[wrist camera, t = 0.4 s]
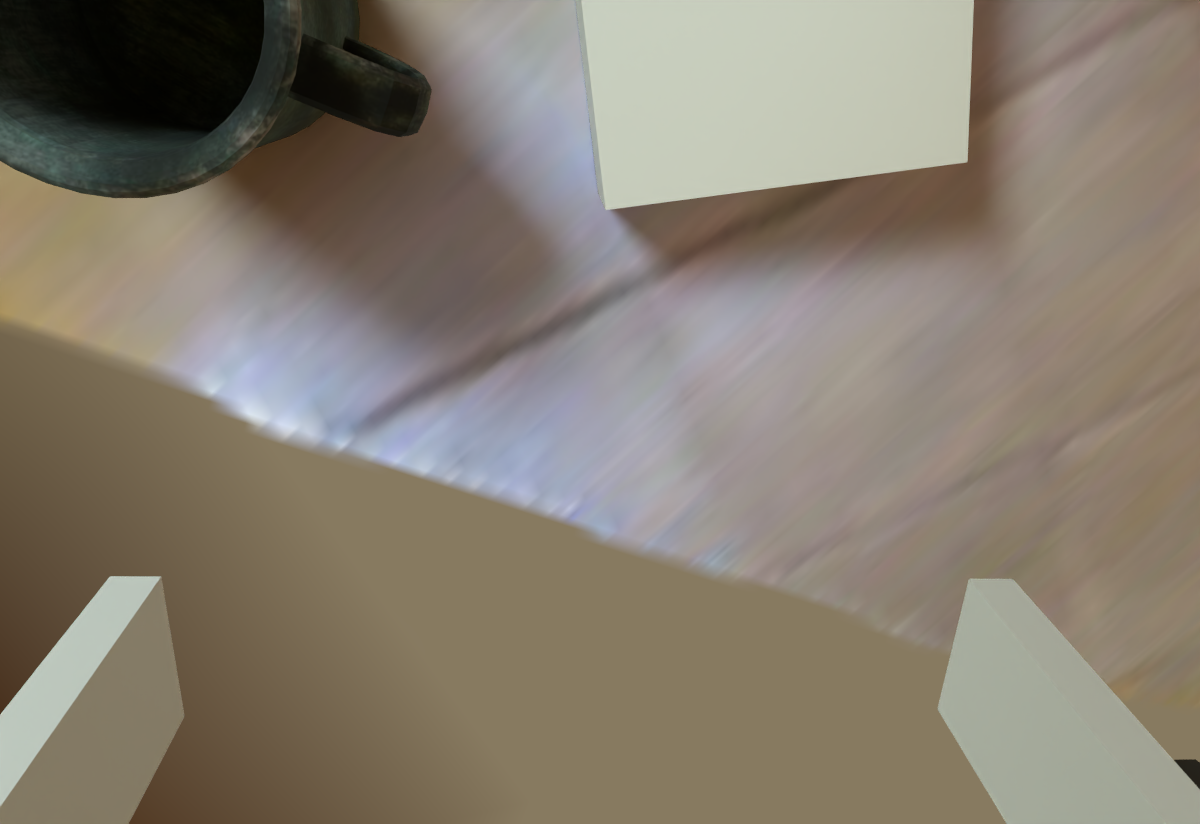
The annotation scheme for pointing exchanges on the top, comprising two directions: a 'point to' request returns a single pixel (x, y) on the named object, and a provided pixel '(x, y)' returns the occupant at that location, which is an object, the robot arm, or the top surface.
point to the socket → (770, 92)
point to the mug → (183, 87)
